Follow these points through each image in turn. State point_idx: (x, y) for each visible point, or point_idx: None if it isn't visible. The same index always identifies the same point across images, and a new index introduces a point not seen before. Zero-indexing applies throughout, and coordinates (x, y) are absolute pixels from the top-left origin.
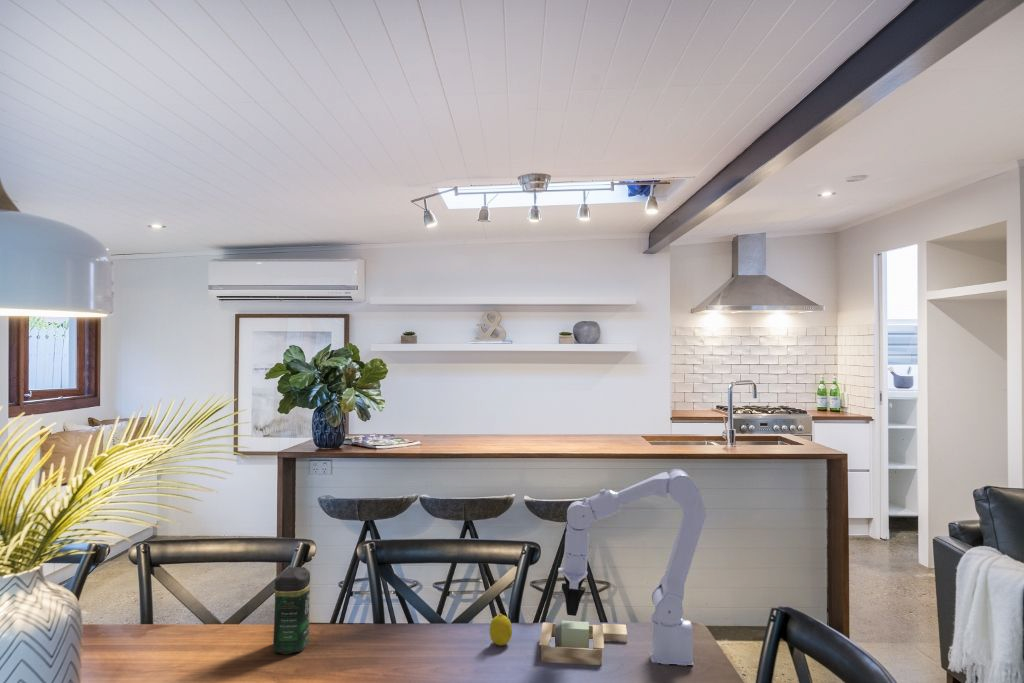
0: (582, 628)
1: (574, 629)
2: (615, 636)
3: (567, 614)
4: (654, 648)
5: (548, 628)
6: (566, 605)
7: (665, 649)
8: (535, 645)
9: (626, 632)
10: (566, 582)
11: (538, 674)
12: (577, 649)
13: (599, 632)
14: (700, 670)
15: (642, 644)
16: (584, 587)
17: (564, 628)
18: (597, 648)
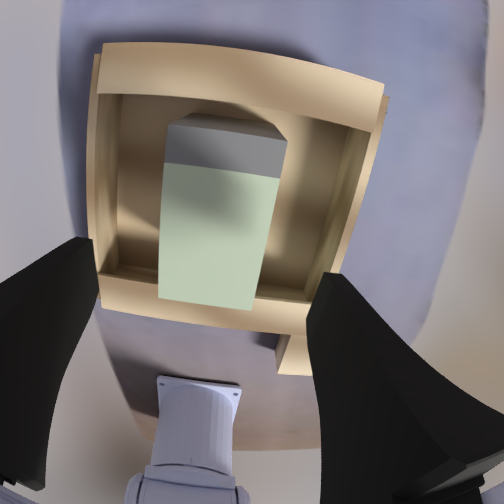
0: (167, 273)
1: (160, 233)
2: (284, 343)
3: (73, 238)
4: (176, 405)
5: (305, 96)
6: (25, 269)
7: (158, 419)
8: (299, 43)
9: (291, 373)
10: (393, 395)
11: (58, 59)
12: (87, 213)
13: (240, 318)
14: (149, 423)
15: (272, 378)
16: (27, 486)
17: (163, 180)
18: (100, 287)
